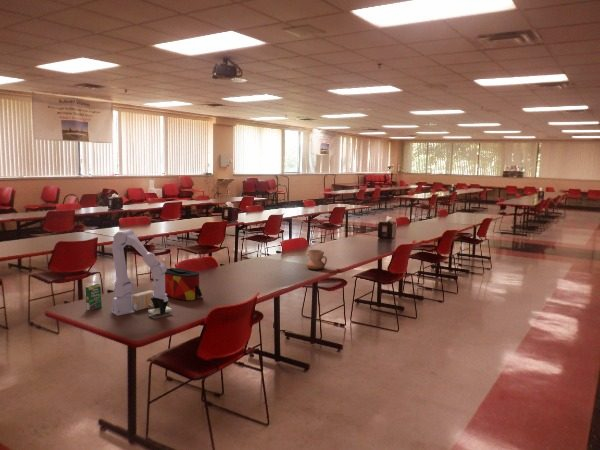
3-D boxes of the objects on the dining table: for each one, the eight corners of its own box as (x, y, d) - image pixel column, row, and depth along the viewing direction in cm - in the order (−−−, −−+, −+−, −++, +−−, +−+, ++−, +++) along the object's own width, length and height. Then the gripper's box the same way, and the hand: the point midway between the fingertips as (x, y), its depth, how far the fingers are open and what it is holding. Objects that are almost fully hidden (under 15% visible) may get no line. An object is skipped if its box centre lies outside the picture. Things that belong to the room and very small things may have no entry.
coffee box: (89, 311, 253) (88, 287, 251) (85, 310, 254) (84, 286, 252) (102, 307, 260) (101, 284, 258) (98, 306, 261) (97, 283, 259)
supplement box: (151, 289, 267) (131, 294, 257) (156, 291, 265) (136, 295, 254) (151, 303, 268) (131, 309, 258) (156, 305, 266) (136, 310, 255)
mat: (154, 318, 243) (154, 318, 243) (147, 315, 248) (147, 314, 248) (171, 314, 250) (171, 314, 250) (165, 311, 255) (165, 310, 255)
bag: (154, 294, 287) (154, 268, 285) (172, 289, 299) (171, 264, 296) (190, 303, 271) (190, 275, 269) (207, 297, 283) (207, 270, 281)
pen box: (152, 313, 251) (152, 306, 250) (148, 311, 254) (148, 304, 253) (169, 309, 258) (169, 302, 257) (165, 308, 261) (165, 301, 260)
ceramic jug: (301, 269, 365) (301, 250, 363) (310, 265, 377) (311, 248, 375) (321, 272, 356) (322, 254, 353) (330, 269, 368) (331, 251, 366)
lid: (153, 314, 243) (153, 312, 243) (148, 312, 247) (148, 310, 247) (171, 310, 250) (171, 308, 250) (166, 308, 254) (166, 306, 254)
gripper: (173, 288, 244) (173, 313, 246) (160, 282, 255) (160, 307, 256) (160, 290, 239) (161, 316, 241) (147, 284, 250) (148, 309, 252)
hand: (159, 311), depth 248 cm, fingers closed on lid, 5 cm apart
